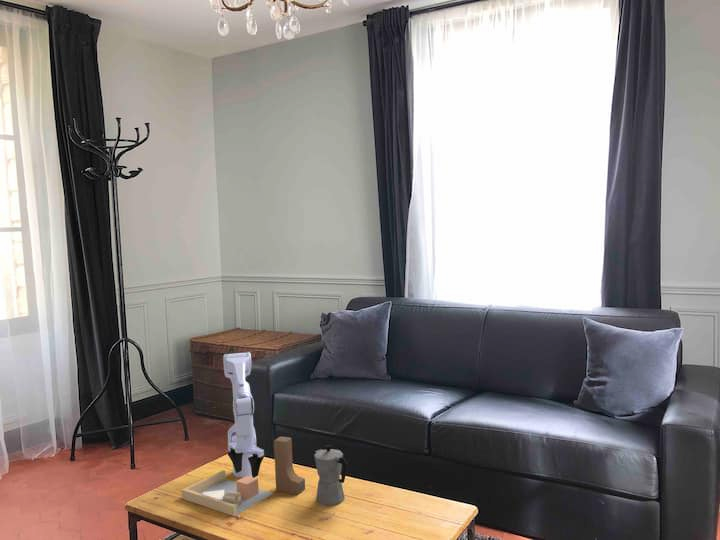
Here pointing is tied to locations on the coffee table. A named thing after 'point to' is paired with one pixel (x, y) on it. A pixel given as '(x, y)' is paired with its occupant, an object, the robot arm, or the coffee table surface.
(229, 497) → the ash block
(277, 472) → the wooden block
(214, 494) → the pad
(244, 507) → the arena board
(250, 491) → the terracotta cube
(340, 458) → the coffeepot
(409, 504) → the coffee table surface
